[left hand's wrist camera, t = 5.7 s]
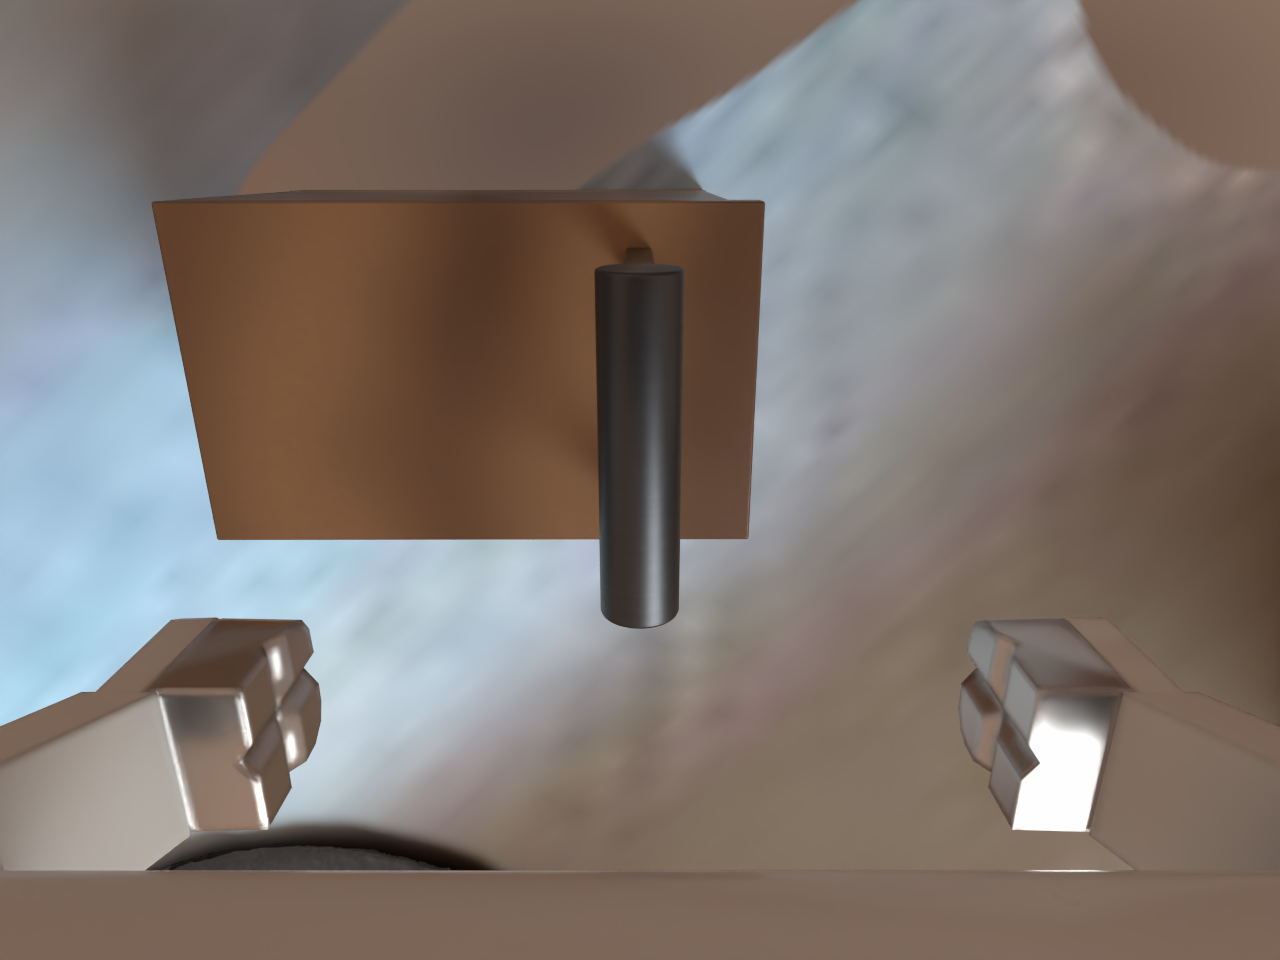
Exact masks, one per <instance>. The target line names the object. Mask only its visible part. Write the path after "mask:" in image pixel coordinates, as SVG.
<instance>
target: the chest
mask: <svg viewBox="0 0 1280 960" xmlns="http://www.w3.org/2000/svg"><path fill="white" fill-rule="evenodd" d="M182 200H726V199H724V198H721V197H718V196H716V195H713V194H710V193H708V192H706V191H705V190H300V191H290V192H278V193H264V194H250V195H236V196H223V197H209V198H195V199H182Z"/></svg>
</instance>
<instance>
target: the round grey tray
mask: <svg viewBox="0 0 1280 960" xmlns="http://www.w3.org/2000/svg"><path fill="white" fill-rule="evenodd" d="M163 870H450V869H449V867H448V869H447V868H439V867H435V866H434V865H429V864H427V863H426V862H421V861H419V862H418V863H417V862H416V860H414V861H413V859H412V860H410V859H409V858H404V857H403V856H400V855H399V857H396V856H395V855H393V856H391V855H390V854H388V855H386V854H385V853H384V852H383V853H380V852H378V851H377V850H374V849H370V850H367V849H356V848H355V849H343V848H342V847H338V848H335V847H333V846H331V847H329V846H326V847H325V846H322V847H320V846H309V845H306V847H303V846H301V845H296V846H294V847H290V846H284V847H279V848H276V847H275V848H272V847H270V848H266V847H262V848H258V849H251V850H250V851H247V850H245V851H242V850H239V851H228V852H218V853H210V854H207V855H205V856H201V857H198V858H194V859H190V860H188V861H182V862H179V863H178V864H174V865H170V866H168V867H166V868H165V869H163Z"/></svg>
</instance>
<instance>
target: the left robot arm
mask: <svg viewBox="0 0 1280 960" xmlns="http://www.w3.org/2000/svg"><path fill="white" fill-rule="evenodd" d="M313 652H314V651H313V646H312V641H311V636H310V631H309V628H308V627H307V626H306V624H305V623H304V622H303V621H302V620H277V619H224V618H223V619H218V618H182V619H175V620H171V621H170V622H168V623H167V624H166V625H165V626H164V627H163V628H162V629H161V630H160V631H159V632H158V633H157V634H156V635H155V636H154V637H153V638H152V639H151V640H150V641H149V642H148V643H146V644H145V645H144V646H143V647H142V648H141V649H140V650H139V651H138V652H137V653H136V654H135V655H134V656H133V657H132V658H131V659H130V660H129V661H128V662H127V663H125V664H124V665H123V666H122V667H121V668H120V669H119V670H118V671H117V672H116V673H115V674H114V675H113V676H112V677H111V678H110V679H109V680H108V681H107V682H106V683H105V684H103V685H102V686H101V687H100V688H99V689H98V690H97V691H96V692H81V693H78V694H76V695H74V696H71V697H69V698H67V699H64V700H62V701H60V702H57V703H55V704H52V705H50V706H48V707H45V708H43V709H41V710H38V711H36V712H34V713H31V714H29V715H26V716H24V717H22V718H19V719H17V720H15V721H12V722H10V723H7V724H5V725H3V726H0V960H1280V727H1279V726H1277V725H1275V724H1272V723H1270V722H1268V721H1265V720H1263V719H1261V718H1258V717H1256V716H1253V715H1251V714H1249V713H1246V712H1244V711H1242V710H1239V709H1237V708H1235V707H1232V706H1230V705H1227V704H1225V703H1223V702H1220V701H1218V700H1216V699H1213V698H1211V697H1209V696H1206V695H1204V694H1202V693H1199V692H1184V691H1183V690H1182V689H1181V688H1180V687H1179V686H1178V685H1177V684H1176V683H1175V682H1173V681H1172V680H1171V679H1170V678H1169V677H1168V676H1167V675H1166V674H1165V673H1164V672H1163V671H1162V670H1161V669H1160V668H1159V667H1158V666H1157V665H1156V664H1155V663H1154V662H1153V661H1152V660H1150V659H1149V658H1148V657H1147V656H1146V655H1145V654H1144V653H1143V652H1142V651H1141V650H1140V649H1139V648H1138V647H1137V646H1136V645H1135V644H1134V643H1133V642H1132V641H1131V640H1130V639H1129V638H1127V637H1126V636H1125V635H1124V634H1123V633H1122V632H1121V631H1120V630H1119V629H1118V628H1117V627H1116V626H1115V625H1114V624H1113V623H1112V622H1111V621H1109V620H1106V619H1103V618H1099V617H1098V618H1074V619H1027V620H986V621H977V622H975V623H974V625H973V627H972V630H971V632H970V634H969V640H968V646H967V651H966V652H967V654H968V655H969V657H970V658H971V660H972V661H973V663H974V665H975V666H976V669H975V670H974V671H973V672H972V673H971V674H970V675H969V676H968V677H967V678H966V679H965V680H964V681H963V682H962V683H961V690H960V699H959V707H958V708H959V719H960V729H961V733H962V736H963V739H964V743H965V746H966V748H967V750H968V752H969V753H970V755H971V757H972V759H973V761H974V762H976V763H977V764H979V765H981V766H982V767H984V768H985V769H987V770H988V771H990V772H991V775H990V781H989V786H988V788H989V790H990V791H991V793H992V795H993V797H994V798H995V800H996V802H997V803H998V805H999V807H1000V809H1001V811H1002V812H1003V814H1004V816H1005V818H1006V819H1007V821H1008V823H1009V825H1010V826H1011V828H1012V829H1015V830H1052V831H1089V835H1090V836H1091V837H1092V838H1094V839H1095V840H1096V841H1098V842H1099V843H1100V844H1102V845H1103V846H1104V847H1105V848H1107V849H1108V850H1109V851H1111V852H1112V853H1113V854H1115V855H1116V856H1117V857H1119V858H1120V859H1121V860H1122V861H1124V862H1125V863H1126V864H1128V865H1129V866H1130V867H1132V868H1133V869H1134V870H778V871H777V870H776V871H575V870H574V871H566V870H565V871H564V870H563V871H562V870H561V871H560V870H559V871H558V870H557V871H556V870H555V871H554V870H146V869H147V868H149V867H150V866H151V865H153V864H154V863H155V862H156V861H158V860H159V859H160V858H162V857H163V856H164V855H166V854H167V853H168V852H170V851H171V850H172V849H174V848H175V847H176V846H177V845H179V844H180V843H181V842H183V841H184V840H185V839H187V838H188V837H189V836H190V835H191V833H190V832H191V831H227V830H262V829H268V828H269V826H270V825H271V823H272V821H273V819H274V818H275V816H276V814H277V812H278V811H279V809H280V807H281V805H282V804H283V802H284V800H285V798H286V796H287V795H288V793H289V791H290V789H291V788H292V786H291V781H290V775H289V772H290V771H292V770H293V769H295V768H296V767H298V766H299V765H301V764H303V763H304V762H306V761H307V759H308V757H309V755H310V753H311V751H312V750H313V748H314V746H315V744H316V739H317V735H318V731H319V727H320V722H321V696H320V689H319V683H318V682H317V681H316V680H315V679H314V678H313V677H312V676H311V675H310V674H309V673H308V672H307V671H306V670H305V669H304V666H305V665H306V663H307V661H308V660H309V658H310V657H311V655H312V654H313Z"/></svg>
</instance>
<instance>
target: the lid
mask: <svg viewBox="0 0 1280 960" xmlns="http://www.w3.org/2000/svg"><path fill="white" fill-rule="evenodd" d="M152 208H153V213H154V218H155V223H156V228H157V233H158V239H159V244H160V249H161V254H162V259H163V264H164V269H165V274H166V279H167V284H168V290H169V295H170V300H171V305H172V310H173V315H174V320H175V325H176V330H177V335H178V341H179V346H180V351H181V356H182V361H183V366H184V371H185V376H186V381H187V386H188V392H189V397H190V402H191V407H192V412H193V417H194V422H195V427H196V432H197V437H198V443H199V448H200V453H201V458H202V463H203V468H204V473H205V478H206V483H207V488H208V494H209V499H210V504H211V509H212V514H213V519H214V524H215V529H216V534H217V539H218V540H412V539H600V590H601V611H602V613H603V615H604V617H605V618H606V619H607V620H609V621H610V622H612V623H614V624H616V625H619V626H623V627H628V628H652V627H657V626H660V625H663V624H665V623H668V622H669V621H671V620H672V619H673V618H674V617H675V616H676V614H677V613H678V610H679V562H680V539H748V535H749V514H750V494H751V474H752V454H753V434H754V413H755V393H756V373H757V353H758V332H759V312H760V292H761V272H762V252H763V231H764V211H765V203H764V202H763V201H760V200H168V201H154V202H152Z"/></svg>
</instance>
